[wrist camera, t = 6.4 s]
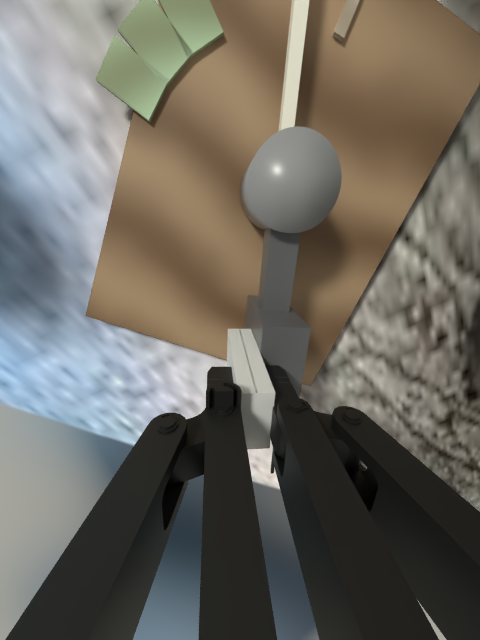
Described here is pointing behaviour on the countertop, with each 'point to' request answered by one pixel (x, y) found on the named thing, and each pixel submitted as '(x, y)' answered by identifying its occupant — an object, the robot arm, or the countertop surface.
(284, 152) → the peg key
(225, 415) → the robot arm
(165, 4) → the board
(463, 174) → the countertop surface
